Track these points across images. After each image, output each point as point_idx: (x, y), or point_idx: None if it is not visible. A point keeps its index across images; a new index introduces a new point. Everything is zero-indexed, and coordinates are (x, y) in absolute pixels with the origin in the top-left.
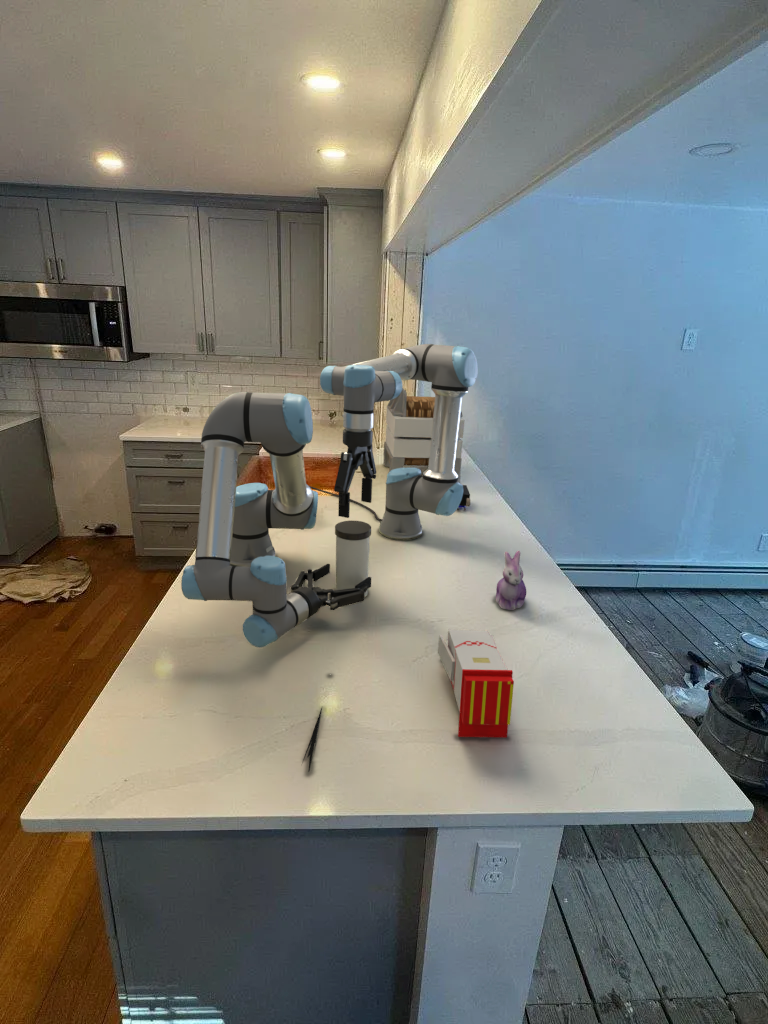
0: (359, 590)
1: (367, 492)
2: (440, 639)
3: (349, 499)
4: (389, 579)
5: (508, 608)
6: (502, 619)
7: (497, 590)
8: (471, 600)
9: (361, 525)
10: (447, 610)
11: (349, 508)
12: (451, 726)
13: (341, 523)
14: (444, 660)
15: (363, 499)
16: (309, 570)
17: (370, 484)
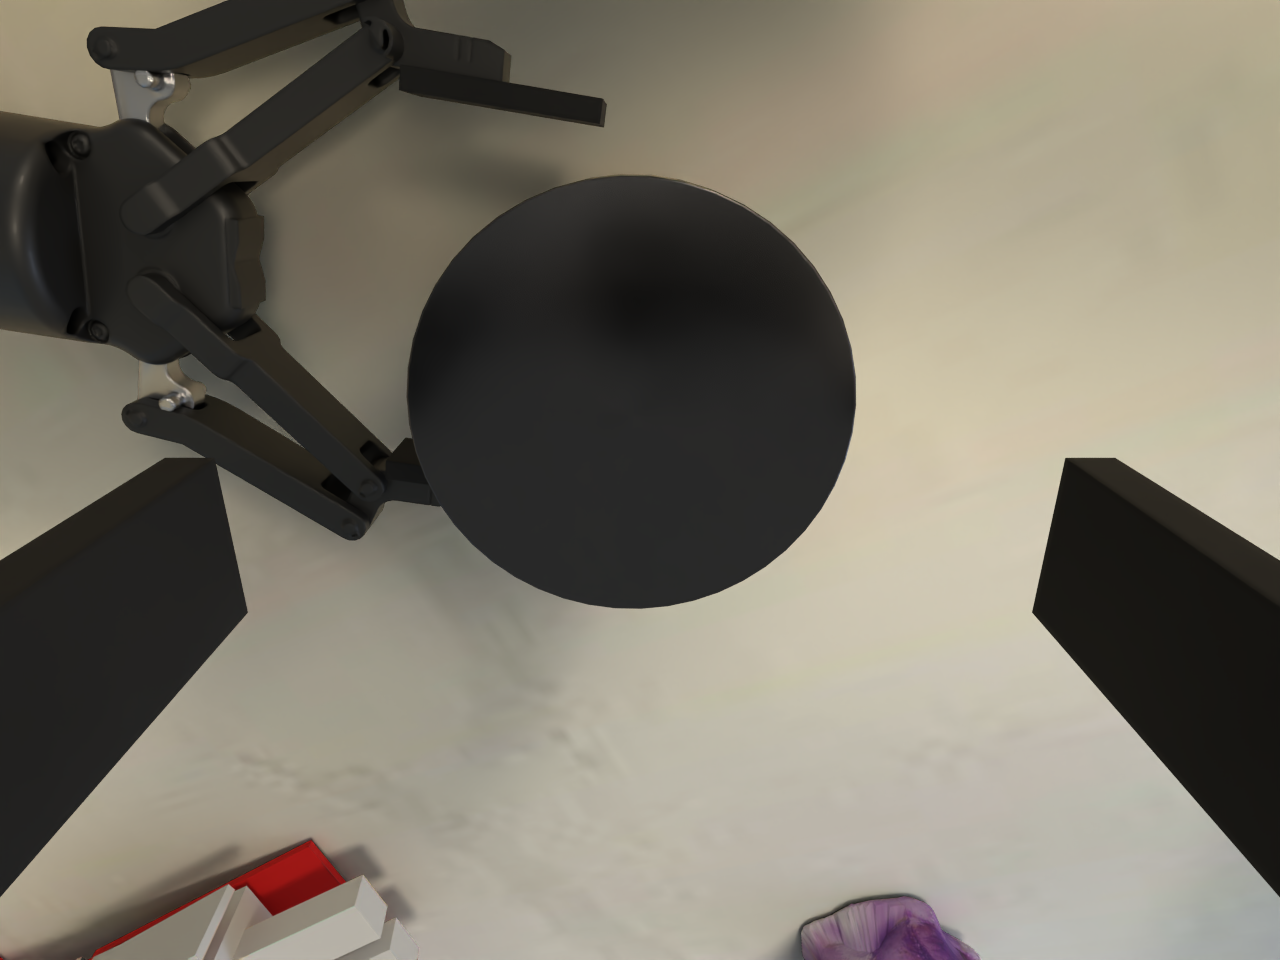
0: (368, 498)
1: (1151, 665)
2: (181, 956)
3: (30, 844)
4: (902, 418)
5: (803, 951)
6: (717, 938)
7: (890, 938)
8: (828, 820)
9: (723, 478)
10: (689, 762)
11: (164, 703)
12: (22, 929)
13: (669, 226)
14: (135, 951)
15: (1078, 514)
16: (373, 35)
17: (1272, 870)
